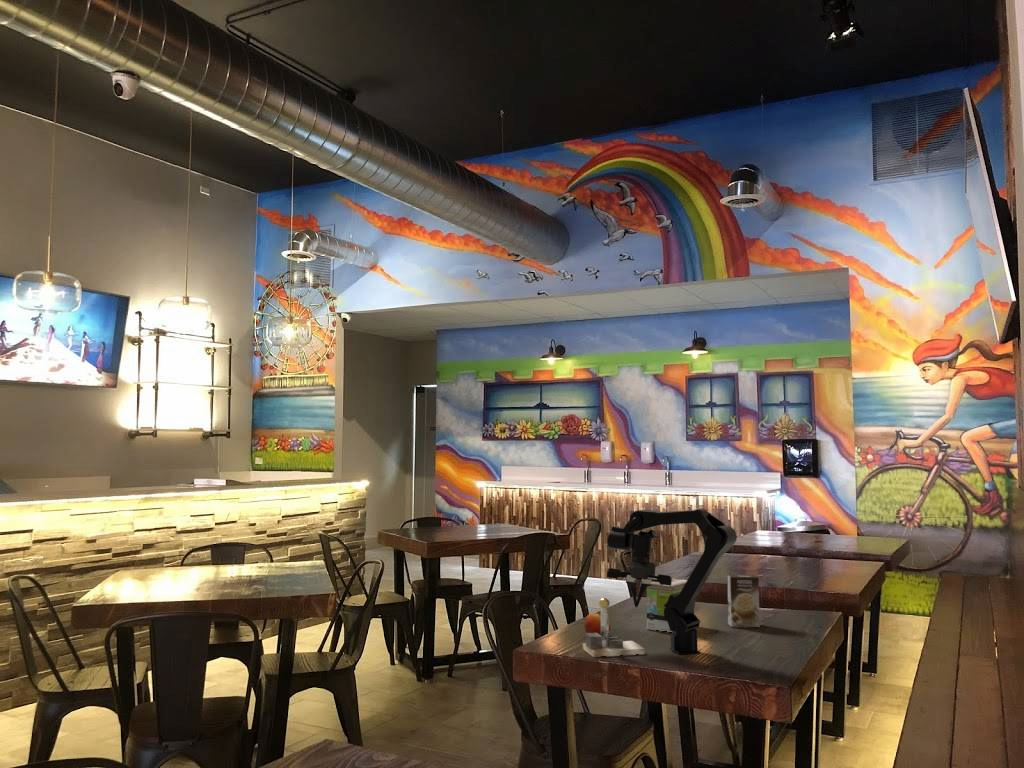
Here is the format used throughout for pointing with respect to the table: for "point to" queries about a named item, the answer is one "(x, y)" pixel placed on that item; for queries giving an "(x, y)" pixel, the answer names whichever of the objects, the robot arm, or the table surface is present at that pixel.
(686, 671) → the table surface
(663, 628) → the tea box
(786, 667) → the table surface
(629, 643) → the board
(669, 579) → the robot arm
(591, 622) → the fruit
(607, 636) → the gold knob lever
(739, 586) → the coffee box
